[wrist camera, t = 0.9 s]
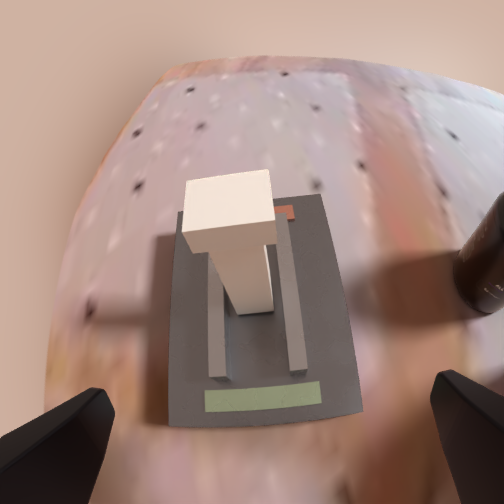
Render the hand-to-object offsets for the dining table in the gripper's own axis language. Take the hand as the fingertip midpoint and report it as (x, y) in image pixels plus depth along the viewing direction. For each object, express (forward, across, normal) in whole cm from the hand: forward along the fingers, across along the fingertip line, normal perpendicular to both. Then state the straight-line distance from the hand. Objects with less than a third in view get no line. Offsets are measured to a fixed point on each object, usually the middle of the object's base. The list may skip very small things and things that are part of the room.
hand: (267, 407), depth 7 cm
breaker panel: (+16, +1, +5) cm, 16 cm away
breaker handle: (+13, +1, +3) cm, 14 cm away
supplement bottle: (+16, -19, +5) cm, 25 cm away
